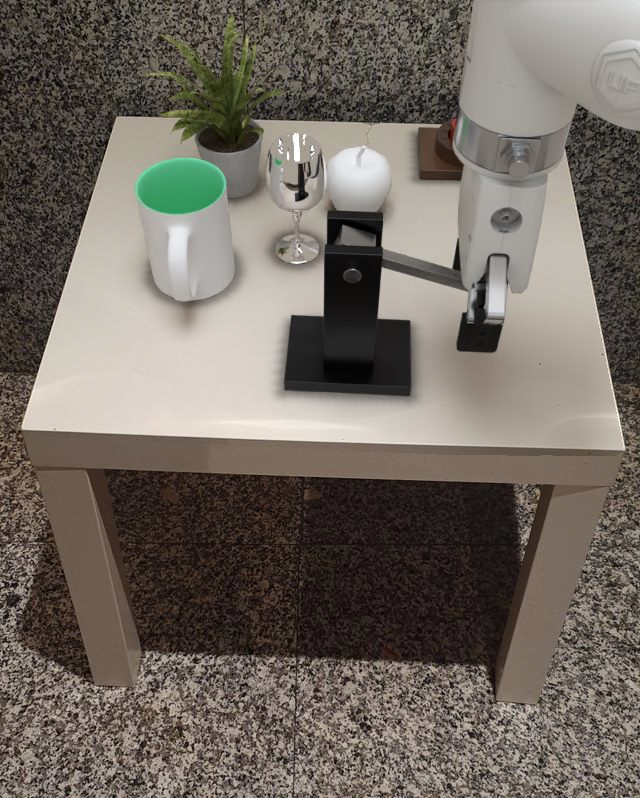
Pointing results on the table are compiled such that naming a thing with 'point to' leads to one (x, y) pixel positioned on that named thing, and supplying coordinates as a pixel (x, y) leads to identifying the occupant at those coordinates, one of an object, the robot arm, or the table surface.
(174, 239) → the mug
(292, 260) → the wineglass
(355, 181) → the plain white apple
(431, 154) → the button block
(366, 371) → the bracket
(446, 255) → the table surface
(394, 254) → the lever
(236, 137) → the house plant
